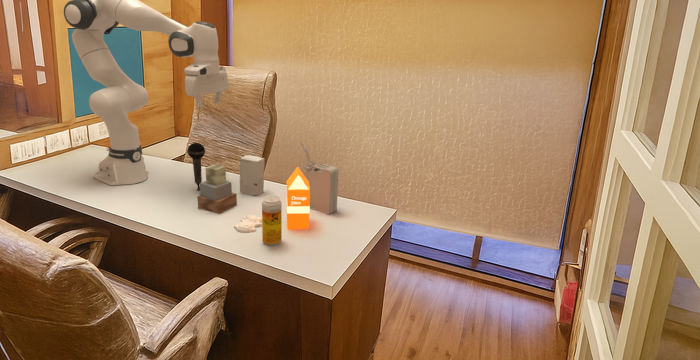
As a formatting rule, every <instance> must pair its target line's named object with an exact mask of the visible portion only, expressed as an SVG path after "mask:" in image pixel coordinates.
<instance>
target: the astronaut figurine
mask: <svg viewBox="0 0 700 360" xmlns="http://www.w3.org/2000/svg"><path fill="white" fill-rule="evenodd" d="M260 227H262V216H256V215H254V214H248V215H246V217H245V219H244V218H242V219H240V222H238V223H236V224H235V225H234V226H233V228H234V229H235V231H236V232H238V233H241V234H247V233H248V234H249V233H255V232H256V231H257V229H256V228H260Z"/></svg>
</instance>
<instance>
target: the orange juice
mask: <svg viewBox="0 0 700 360" xmlns="http://www.w3.org/2000/svg"><path fill="white" fill-rule="evenodd" d="M285 198H286V228H287V230H309V229H310V209H311V208H310V187H309V181H308V180H307V179H306V177H305V176H304V173H303V172H302V171H301V169H300V167H299V166H297V167H296V168H295V169H294V171H293V172H292V174H291V175H290V176H289V178H288V179H287V180H286V197H285Z"/></svg>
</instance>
